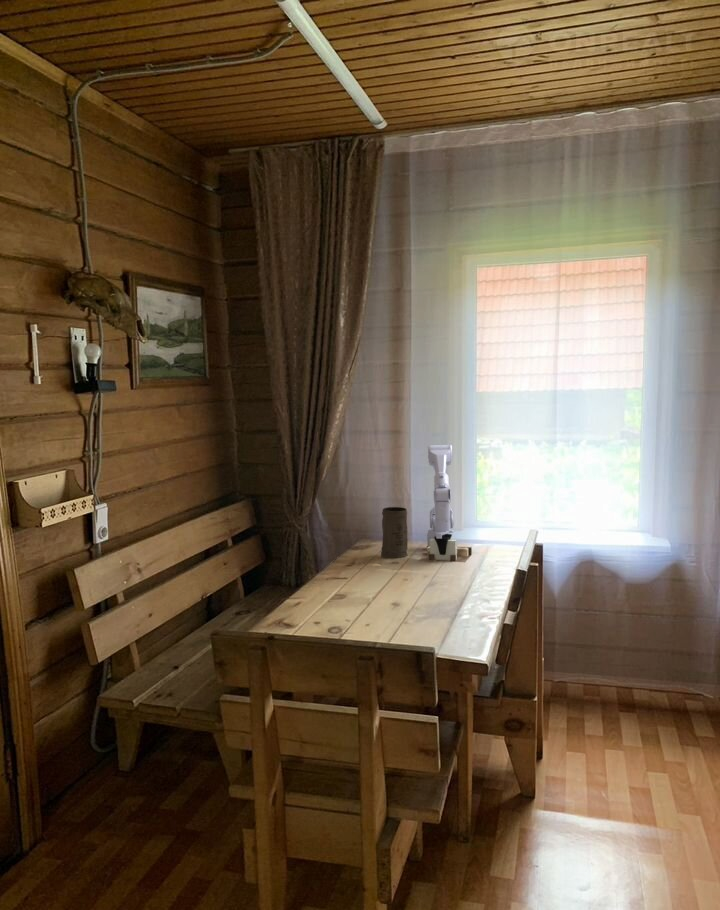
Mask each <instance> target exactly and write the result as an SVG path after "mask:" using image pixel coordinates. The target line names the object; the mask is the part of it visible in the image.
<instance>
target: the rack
mask: <svg viewBox="0 0 720 910" xmlns="http://www.w3.org/2000/svg"><path fill="white" fill-rule="evenodd" d="M427 547H429V546H427V545H426V548H427ZM459 547H460V548H468V553H469V555H468V556H467V557H458V553H457V560H456V555H450V560H435V558H434V554H429V555H427V553H425V554H424V555H423V556H422V557H421V558H419V561H425V562H427V561H428V562H448V563H449V562H450V563H451V562H452V563H454V562H455V563H466V562H467V561H468V560H469V559H470V558H471V556H472V553H473V552H472V551H473V550H472V546H459Z"/></svg>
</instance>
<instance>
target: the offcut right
mask: <svg viewBox="0 0 720 910" xmlns="http://www.w3.org/2000/svg"><path fill="white" fill-rule="evenodd" d="M460 547H461V546H457V553H458V557H467V556H468V555H469V553H468V548H460Z"/></svg>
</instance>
